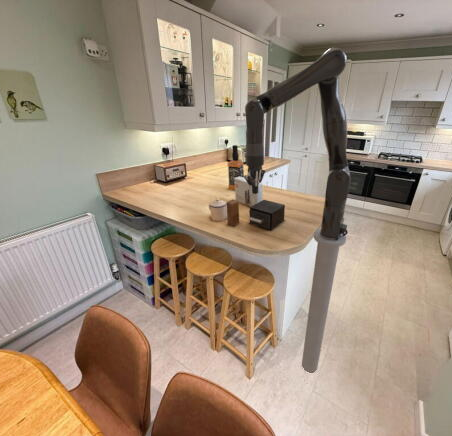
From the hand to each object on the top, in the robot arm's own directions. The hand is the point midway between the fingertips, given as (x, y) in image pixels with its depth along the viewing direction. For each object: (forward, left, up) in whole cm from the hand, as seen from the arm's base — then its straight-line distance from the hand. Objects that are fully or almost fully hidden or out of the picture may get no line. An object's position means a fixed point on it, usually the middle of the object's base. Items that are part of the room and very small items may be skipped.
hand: (255, 193), depth 103 cm
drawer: (+4, -13, -22) cm, 26 cm away
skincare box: (+28, -32, -23) cm, 48 cm away
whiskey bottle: (+54, -52, -23) cm, 78 cm away
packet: (+18, -5, -23) cm, 29 cm away
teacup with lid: (+31, -6, -23) cm, 39 cm away
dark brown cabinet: (+4, -17, -23) cm, 29 cm away
